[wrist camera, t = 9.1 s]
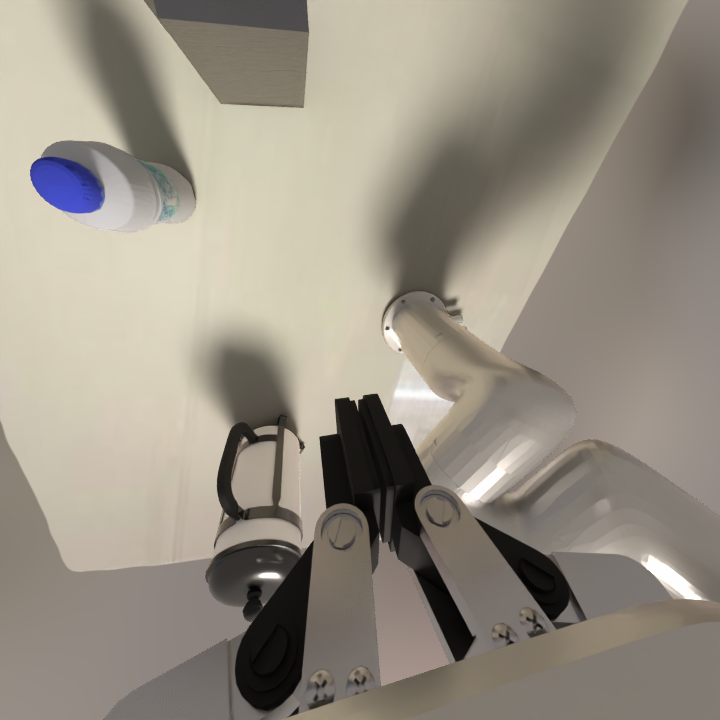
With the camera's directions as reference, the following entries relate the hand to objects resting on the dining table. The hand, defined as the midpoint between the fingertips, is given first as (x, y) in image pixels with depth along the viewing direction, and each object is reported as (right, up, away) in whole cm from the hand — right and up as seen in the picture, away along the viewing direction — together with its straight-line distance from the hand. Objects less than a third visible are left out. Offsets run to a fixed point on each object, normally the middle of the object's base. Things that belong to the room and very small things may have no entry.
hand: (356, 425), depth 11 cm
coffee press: (-20, -14, +47) cm, 53 cm away
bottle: (-24, +24, +24) cm, 42 cm away
